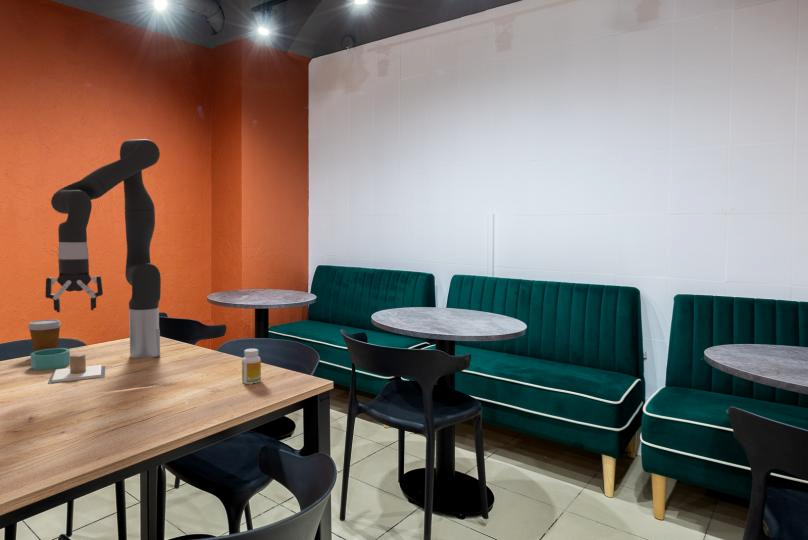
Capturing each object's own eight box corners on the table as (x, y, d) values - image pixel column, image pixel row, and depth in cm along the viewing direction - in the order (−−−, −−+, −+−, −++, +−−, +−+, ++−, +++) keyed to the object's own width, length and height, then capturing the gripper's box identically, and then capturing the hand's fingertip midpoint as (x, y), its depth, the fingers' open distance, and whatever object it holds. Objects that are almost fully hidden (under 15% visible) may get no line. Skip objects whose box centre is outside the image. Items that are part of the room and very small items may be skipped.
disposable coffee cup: (49, 359, 169) (48, 324, 168) (22, 358, 169) (20, 323, 168) (68, 352, 178) (67, 319, 177) (42, 351, 178) (41, 318, 177)
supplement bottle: (264, 380, 150) (264, 349, 149) (252, 385, 145) (252, 353, 144) (250, 378, 152) (250, 347, 152) (238, 382, 148) (237, 350, 147)
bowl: (71, 361, 166) (70, 346, 166) (68, 369, 158) (68, 353, 157) (34, 365, 161) (33, 350, 161) (29, 373, 153) (29, 357, 152)
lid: (101, 367, 159) (101, 349, 158) (100, 377, 149) (100, 358, 148) (56, 371, 153) (55, 353, 152) (52, 382, 143) (51, 363, 142)
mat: (105, 367, 160) (105, 365, 160) (104, 379, 148) (104, 377, 148) (52, 373, 153) (52, 371, 153) (47, 385, 141) (47, 384, 141)
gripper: (101, 256, 155) (103, 307, 156) (45, 256, 147) (48, 310, 149) (101, 257, 148) (102, 311, 150) (42, 258, 141) (45, 314, 142)
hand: (75, 311), depth 149 cm, fingers open, 8 cm apart
